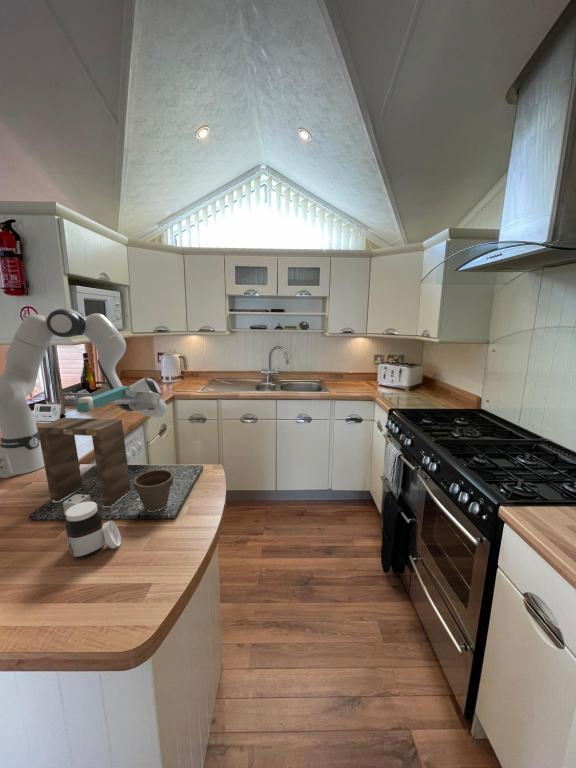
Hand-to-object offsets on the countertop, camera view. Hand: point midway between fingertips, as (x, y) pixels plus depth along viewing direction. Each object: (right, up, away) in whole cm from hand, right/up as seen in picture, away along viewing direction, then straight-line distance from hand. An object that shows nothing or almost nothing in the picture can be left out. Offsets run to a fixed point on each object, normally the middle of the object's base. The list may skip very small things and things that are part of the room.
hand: (118, 391), depth 125 cm
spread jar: (+13, -40, -37) cm, 56 cm away
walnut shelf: (-3, -35, -12) cm, 37 cm away
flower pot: (+21, -36, -19) cm, 46 cm away
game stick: (-1, -4, -6) cm, 8 cm away
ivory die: (-1, -37, -22) cm, 43 cm away
